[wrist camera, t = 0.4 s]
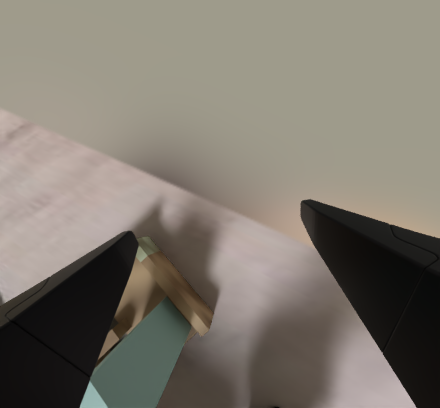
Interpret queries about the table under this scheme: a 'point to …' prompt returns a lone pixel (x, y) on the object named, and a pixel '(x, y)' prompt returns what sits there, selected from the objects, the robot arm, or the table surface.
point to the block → (140, 362)
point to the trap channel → (154, 296)
